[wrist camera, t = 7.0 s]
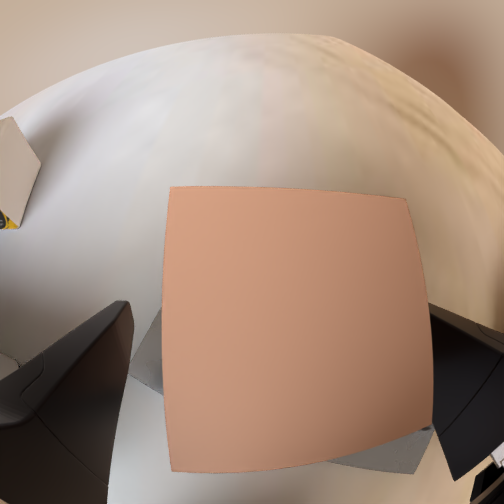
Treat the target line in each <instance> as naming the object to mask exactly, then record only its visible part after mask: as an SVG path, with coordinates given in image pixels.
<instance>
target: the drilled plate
mask: <svg viewBox="0 0 504 504" xmlns="http://www.w3.org/2000/svg"><path fill="white" fill-rule="evenodd" d="M128 374H129V375H131V376H132V377H134V378H136V379H137V380H139V381H140V382H142V383H143V384H145V385H147V386H148V387H150V388H152V389H153V390H155V391H157V392H158V393H160V394H162V395H163V396H164V391H163V371H162V307H161V309H160V311H159V312H158V314H157V316H156V318H155V319H154V321H153V323H152V325H151V326H150V328H149V330H148V332H147V334H146V335H145V337H144V339H143V341H142V343H141V344H140V346H139V348H138V350H137V352H136V354H135V356H134V357H133V359H132V361H131V363H130V365H129V370H128ZM434 429H435V428H430V427H425V428H422V429H420V430H418V431H416V432H413V433H411V434H409V435H406V436H404V437H401V438H399V439H396V440H393V441H391V442H388V443H385V444H382V445H379V446H376V447H373V448H370V449H367V450H364V451H361V452H357V453H354V454H350V455H347V456H343V457H339V458H335V459H331V460H326V461H328V462H333V463H337V464H342V465H347V466H352V467H357V468H363V469H369V470H376V471H384V472H392V473H403V474H414V472H415V470H416V469H417V467H418V465H419V463H420V461H421V459H422V457H423V454H424V452H425V450H426V448H427V446H428V444H429V441H430V439H431V437H432V434H433V432H434Z"/></svg>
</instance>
